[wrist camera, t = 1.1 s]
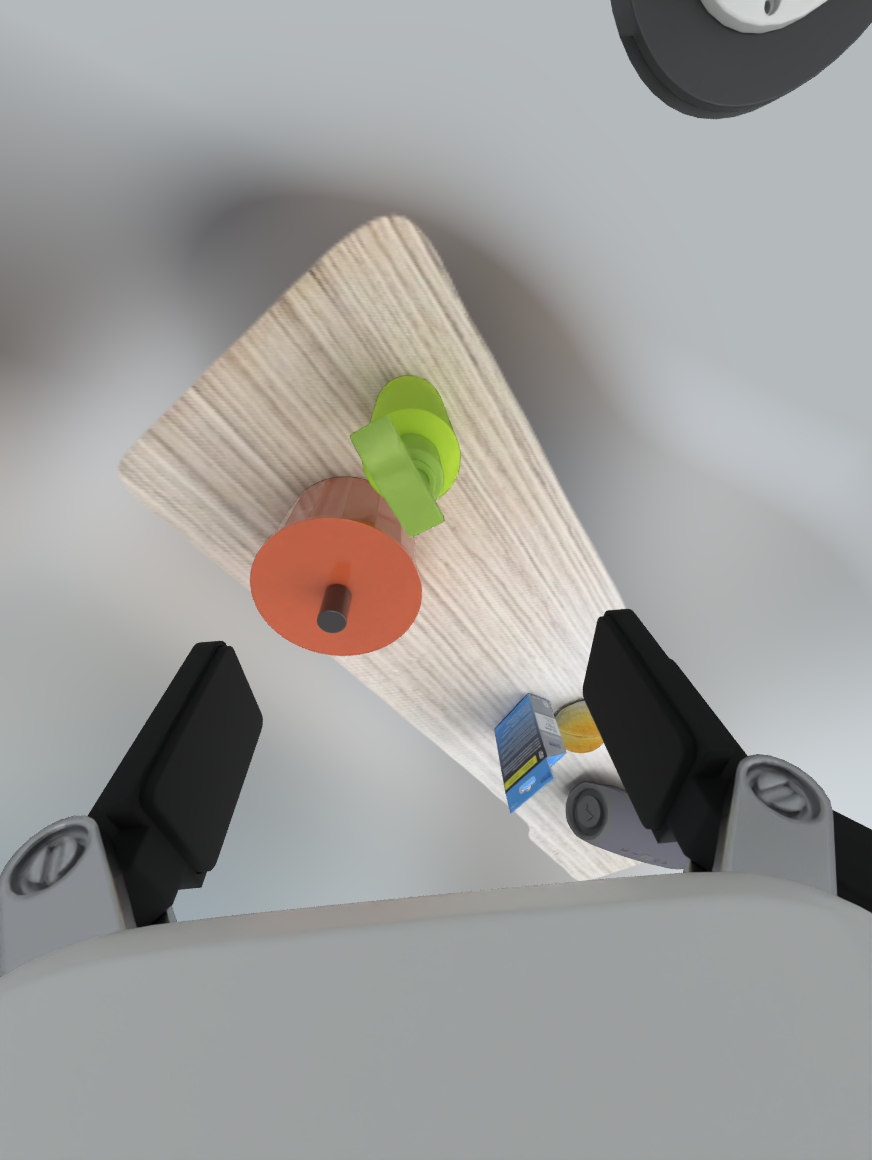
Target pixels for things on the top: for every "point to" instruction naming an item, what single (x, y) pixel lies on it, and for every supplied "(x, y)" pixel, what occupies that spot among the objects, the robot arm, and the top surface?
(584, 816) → the bluetooth speaker
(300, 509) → the pot
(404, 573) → the pot lid
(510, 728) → the label tape box
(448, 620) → the top surface
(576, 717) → the bread roll
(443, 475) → the soap dispenser
